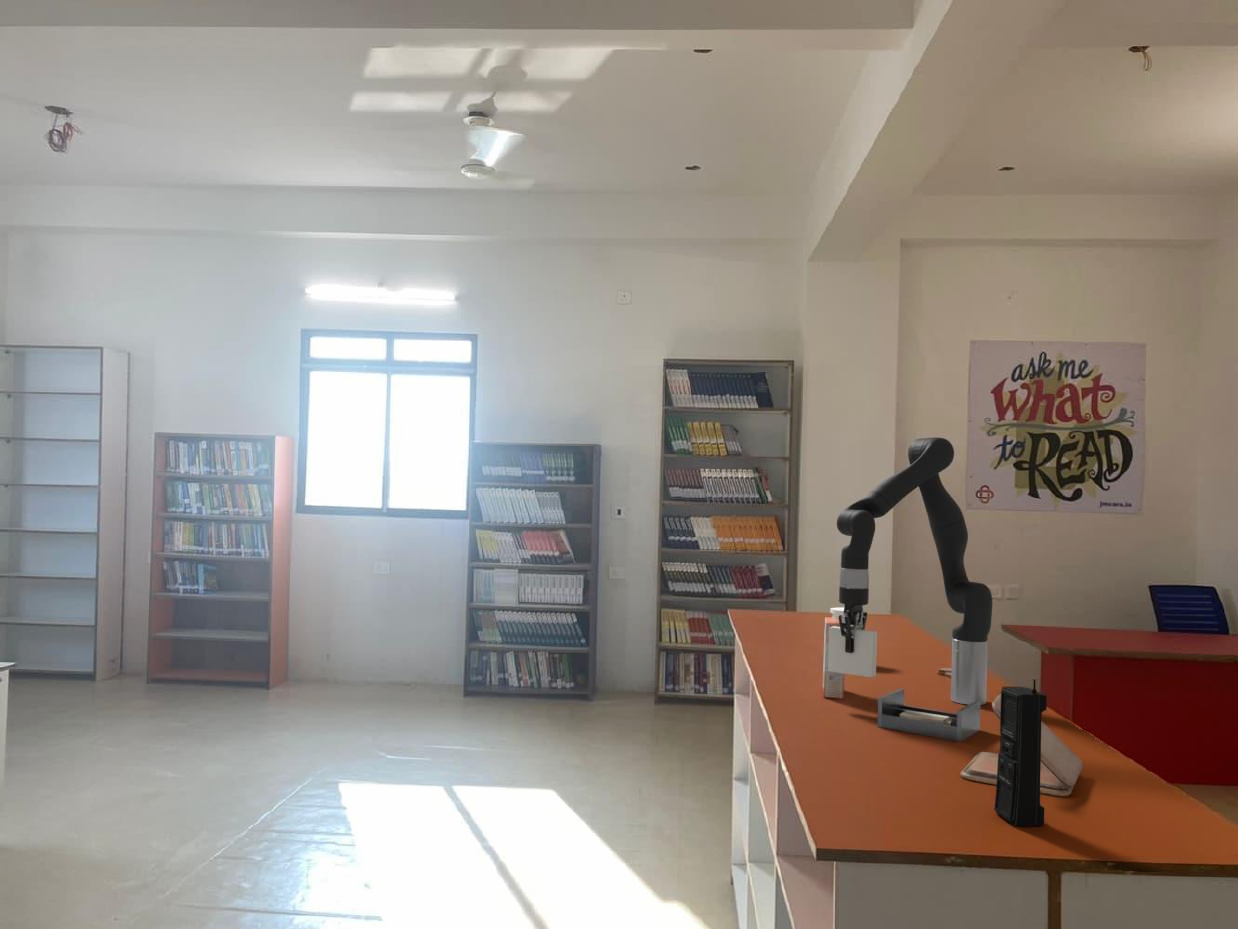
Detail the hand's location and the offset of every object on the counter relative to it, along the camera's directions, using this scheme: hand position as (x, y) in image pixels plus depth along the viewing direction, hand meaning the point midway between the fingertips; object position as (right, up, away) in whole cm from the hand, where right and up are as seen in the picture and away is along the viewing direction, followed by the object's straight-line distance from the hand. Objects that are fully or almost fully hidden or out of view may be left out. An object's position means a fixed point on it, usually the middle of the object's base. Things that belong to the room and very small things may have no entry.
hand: (852, 651), depth 247 cm
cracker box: (0, -16, +19) cm, 25 cm away
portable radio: (+9, -14, -81) cm, 83 cm away
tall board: (0, -6, 0) cm, 6 cm away
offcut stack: (+13, -16, -19) cm, 28 cm away
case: (+21, -15, -55) cm, 61 cm away
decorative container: (+15, -18, +70) cm, 74 cm away
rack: (+14, -15, -17) cm, 27 cm away
